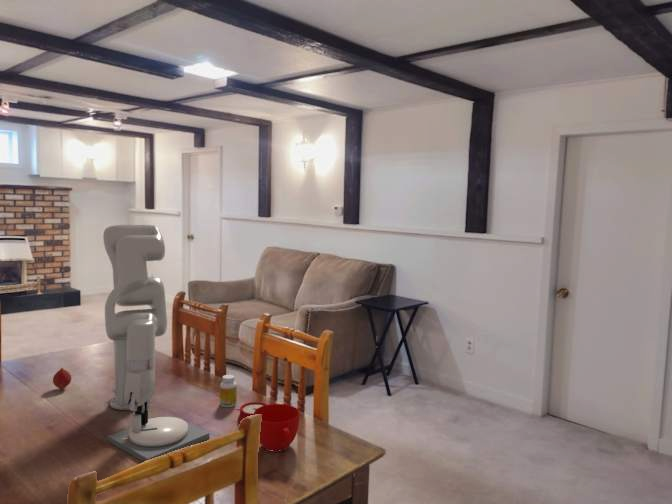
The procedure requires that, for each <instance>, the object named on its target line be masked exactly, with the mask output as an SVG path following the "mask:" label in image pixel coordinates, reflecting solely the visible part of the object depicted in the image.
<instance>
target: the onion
mask: <svg viewBox="0 0 672 504" xmlns="http://www.w3.org/2000/svg"><path fill="white" fill-rule="evenodd" d="M71 382H72V375H71V374H70V372H69V371H67V370H66V369H65V368H64V367H61V368H60V369H59V370H57V372H56V373H55V374H54V375H53V377H52V383H53V385H54V386H55V387H56V388H58V389H60V390H64V389H65V388H67V387H68V386H69V385H70V383H71Z"/></svg>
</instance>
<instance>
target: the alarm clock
mask: <svg viewBox="0 0 672 504" xmlns="http://www.w3.org/2000/svg"><path fill="white" fill-rule="evenodd" d="M265 405H268V403H263V402H259V401H257V402H256V401H255V402H254V401H252V402H247V403H244V404H242V405H241V406H240V408H239V409H237V408H233V410H234V411H239V415H238V417H237V422H238V423H239V424H240V421H241V420H242V419H243V418H245V417H247V416H250V415H254V411H255V410H256V409H258V408H259V407H262V406H265Z"/></svg>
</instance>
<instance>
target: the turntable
mask: <svg viewBox="0 0 672 504" xmlns="http://www.w3.org/2000/svg"><path fill="white" fill-rule="evenodd" d="M175 417H176V416H173V417H162V416H160V417H152V418H148V423H147V424H146V425H141V415H140V414H135V413H134V414H133V415H132V416H131V427H130V428H131V429H130V430H129V439H130V441H131V442H132V443H134V444H136V445H140V446H147V447H155V446H163V445H168V444H172V443H175V442H177V441H179V440H181V439H182V438H184V437H185V436H186V435H187V433H188V424H187V423H188V422H187V421H185V420H184V419H182V418H180V417H176V418H175Z"/></svg>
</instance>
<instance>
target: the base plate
mask: <svg viewBox="0 0 672 504" xmlns="http://www.w3.org/2000/svg"><path fill="white" fill-rule="evenodd" d="M161 417H175V418H177V417H176V416H173V415H171V414H169V413H168V414H166V415H162V416H161ZM187 424H188V433H187V435H186V436H185V437H184V438H182V439H181V440H179V441H177V442H175V443H172V444H168V445H163V446H155V447H147V446H140V445H136V444H134V443H132V442H131V441H130V439H129V430H130V429H131V427H129V428H126V429H123V430H122V431H118V432H115V433H112V434H109V435H107V442H109V443H110V444H112V445H114V446H116V447H117V448H119V449H121V450H122V451H124V452H127V453H128V454H130V455H131V456H133V457H135V458H136V459H138V460H139V461H141V462H143V461H146V460H149V459H152V458H155V457H158V456H161V455H164V454H167V453H169V452H172V451H175V450H178V449H181V448H184V447H187V446H189V447H191V446H190V445H192V444H194V445H196V444H198V443H200V442H201V443H202V442H203V441H206V440H208V439H210V432H208V431H206V430H203V428H199V427H197V426H196V425H192V424H190V423H188V422H187ZM192 446H193V445H192ZM187 448H188V447H187Z"/></svg>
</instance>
